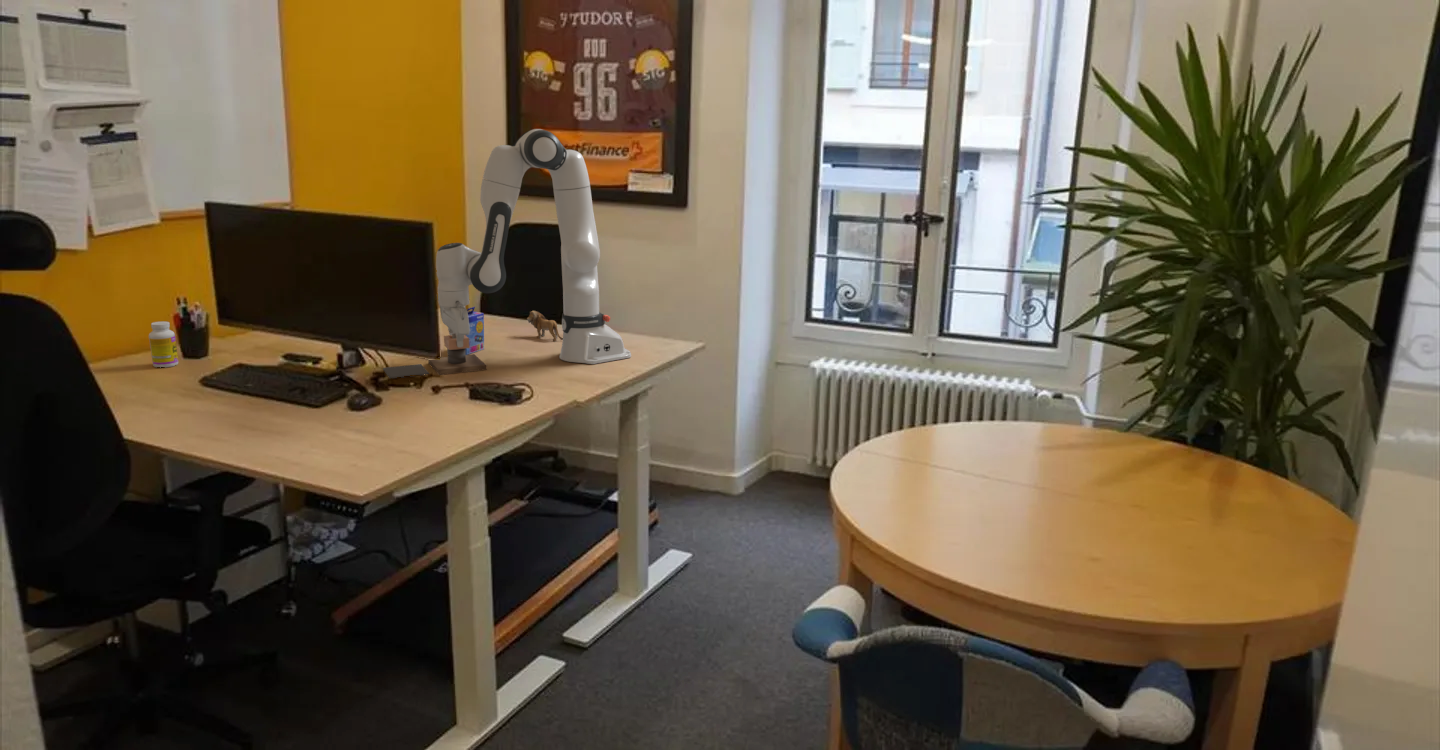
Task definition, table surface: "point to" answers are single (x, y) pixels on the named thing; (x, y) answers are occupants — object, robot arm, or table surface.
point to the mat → (405, 371)
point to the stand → (457, 362)
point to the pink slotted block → (451, 342)
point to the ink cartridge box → (475, 331)
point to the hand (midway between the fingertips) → (456, 344)
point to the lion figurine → (543, 325)
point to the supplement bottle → (163, 345)
